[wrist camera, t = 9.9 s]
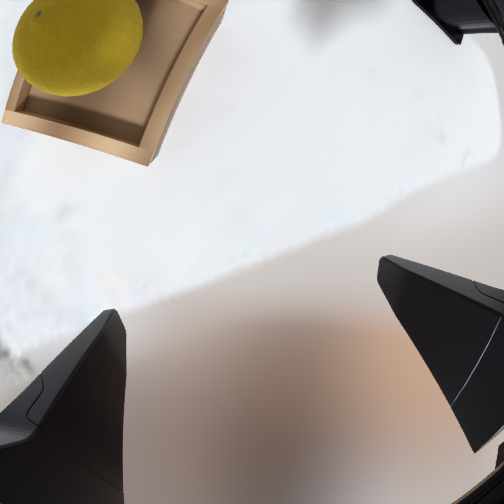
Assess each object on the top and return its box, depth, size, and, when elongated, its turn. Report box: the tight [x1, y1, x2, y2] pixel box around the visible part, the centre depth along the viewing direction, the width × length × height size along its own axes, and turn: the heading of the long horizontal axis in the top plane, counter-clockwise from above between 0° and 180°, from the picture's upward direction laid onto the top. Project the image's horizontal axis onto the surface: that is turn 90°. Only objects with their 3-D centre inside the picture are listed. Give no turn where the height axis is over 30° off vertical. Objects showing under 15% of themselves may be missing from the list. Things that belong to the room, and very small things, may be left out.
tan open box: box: [2, 0, 228, 167], centre depth 12 cm, size 10×10×4 cm
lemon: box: [12, 0, 143, 97], centre depth 8 cm, size 6×6×8 cm
